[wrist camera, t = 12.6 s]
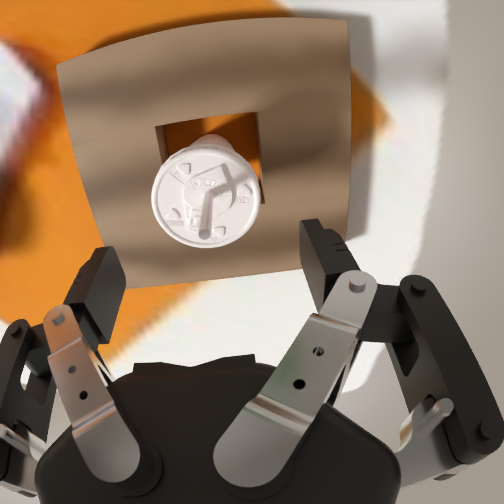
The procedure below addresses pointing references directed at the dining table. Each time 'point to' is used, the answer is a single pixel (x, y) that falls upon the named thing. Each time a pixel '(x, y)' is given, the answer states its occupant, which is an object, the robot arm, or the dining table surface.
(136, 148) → the socket board
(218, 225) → the smoothie
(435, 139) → the dining table surface
